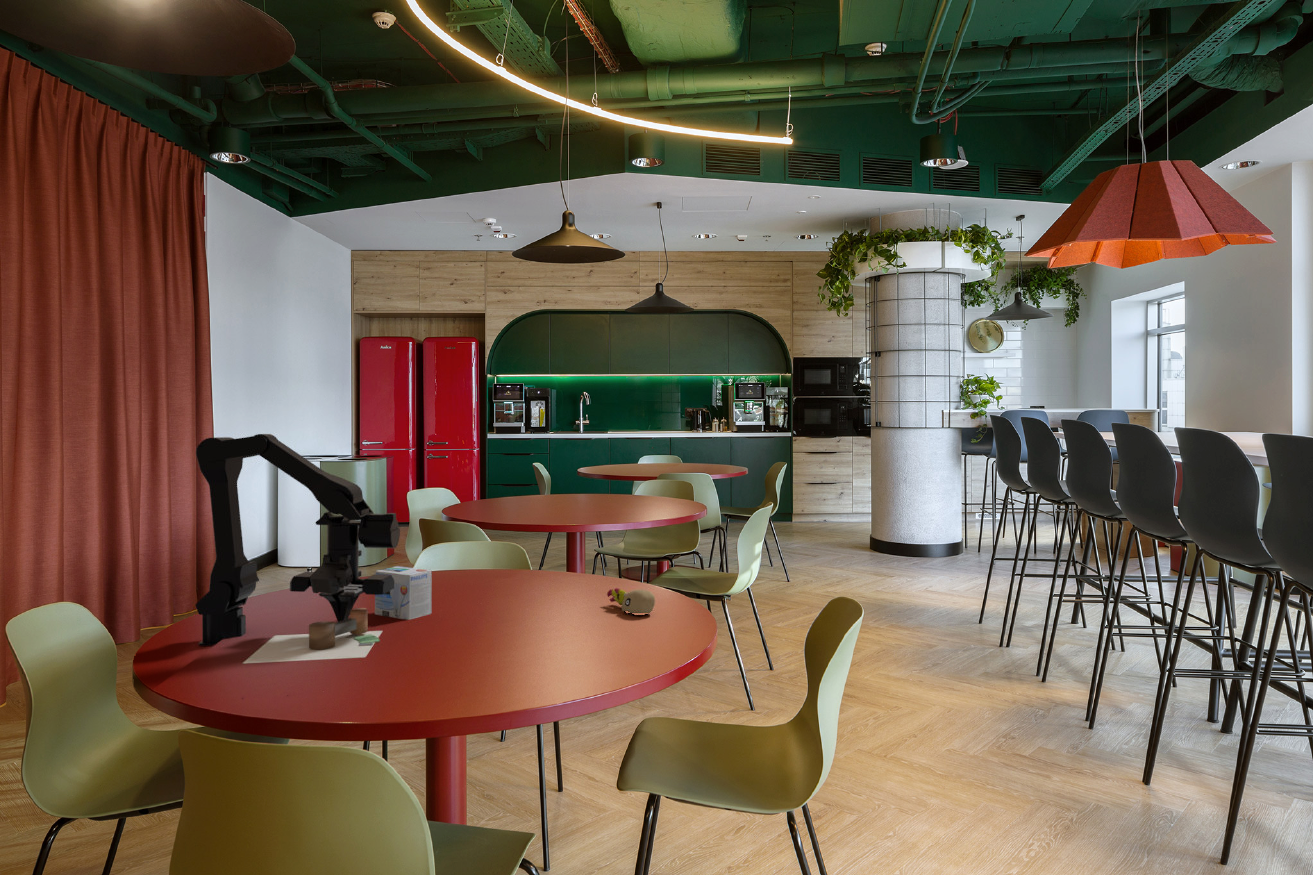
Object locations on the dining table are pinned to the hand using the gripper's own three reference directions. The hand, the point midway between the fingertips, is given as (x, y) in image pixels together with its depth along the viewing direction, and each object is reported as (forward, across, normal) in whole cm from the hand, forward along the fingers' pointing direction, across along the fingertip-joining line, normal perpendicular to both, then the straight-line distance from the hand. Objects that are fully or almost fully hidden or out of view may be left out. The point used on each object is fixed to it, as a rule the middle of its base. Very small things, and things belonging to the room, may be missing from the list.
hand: (342, 626), depth 150 cm
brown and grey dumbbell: (+1, +2, -5) cm, 6 cm away
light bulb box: (+3, +5, +17) cm, 18 cm away
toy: (+2, +53, +29) cm, 61 cm away
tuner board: (+2, 0, -8) cm, 9 cm away
